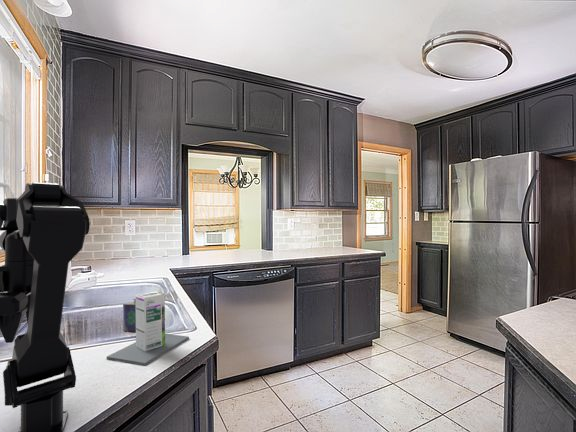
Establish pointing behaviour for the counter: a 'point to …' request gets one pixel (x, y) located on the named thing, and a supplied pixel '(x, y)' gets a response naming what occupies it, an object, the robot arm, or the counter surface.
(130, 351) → the slate mat
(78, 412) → the counter surface
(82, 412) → the counter surface
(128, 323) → the flask
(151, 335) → the syrup box
